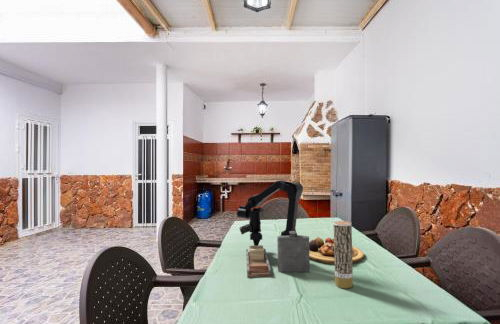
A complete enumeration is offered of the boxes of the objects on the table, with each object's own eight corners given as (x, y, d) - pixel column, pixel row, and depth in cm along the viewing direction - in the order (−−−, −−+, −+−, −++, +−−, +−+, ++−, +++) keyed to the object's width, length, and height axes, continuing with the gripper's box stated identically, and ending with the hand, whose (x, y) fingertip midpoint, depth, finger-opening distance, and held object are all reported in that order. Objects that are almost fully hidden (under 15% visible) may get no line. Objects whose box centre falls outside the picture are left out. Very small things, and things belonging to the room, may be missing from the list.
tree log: (338, 280, 114) (337, 220, 114) (355, 284, 110) (353, 222, 110) (332, 286, 109) (330, 223, 109) (349, 290, 105) (347, 225, 105)
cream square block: (249, 255, 143) (249, 245, 143) (262, 254, 144) (262, 245, 144) (249, 260, 136) (249, 250, 136) (264, 259, 137) (263, 249, 137)
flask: (278, 269, 127) (277, 230, 127) (309, 269, 126) (308, 230, 126) (278, 272, 124) (277, 232, 124) (310, 272, 122) (309, 232, 122)
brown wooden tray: (246, 254, 149) (246, 247, 149) (265, 253, 149) (265, 246, 149) (247, 277, 119) (247, 268, 119) (271, 276, 119) (270, 268, 119)
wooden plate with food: (370, 267, 127) (370, 250, 127) (301, 263, 134) (300, 246, 134) (358, 247, 158) (357, 233, 159) (302, 245, 165) (302, 231, 165)
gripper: (240, 216, 156) (241, 243, 156) (240, 224, 138) (240, 254, 138) (259, 216, 157) (260, 243, 157) (262, 223, 138) (262, 254, 138)
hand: (255, 248), depth 147 cm, fingers closed
